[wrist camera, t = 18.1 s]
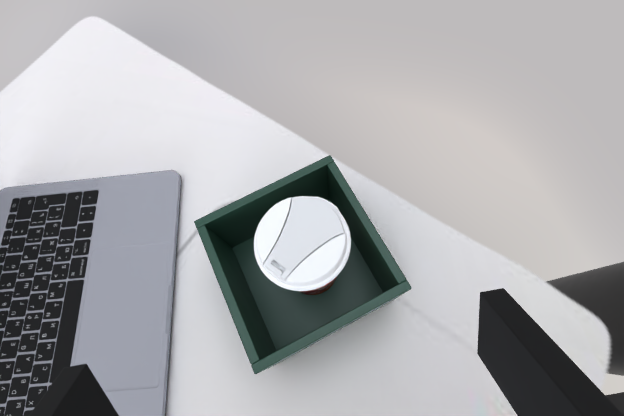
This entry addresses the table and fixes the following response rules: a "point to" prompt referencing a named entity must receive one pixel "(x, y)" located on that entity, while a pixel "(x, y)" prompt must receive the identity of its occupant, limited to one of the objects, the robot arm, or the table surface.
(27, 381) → the laptop
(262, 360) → the open storage bin
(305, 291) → the paper cup
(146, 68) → the table surface
